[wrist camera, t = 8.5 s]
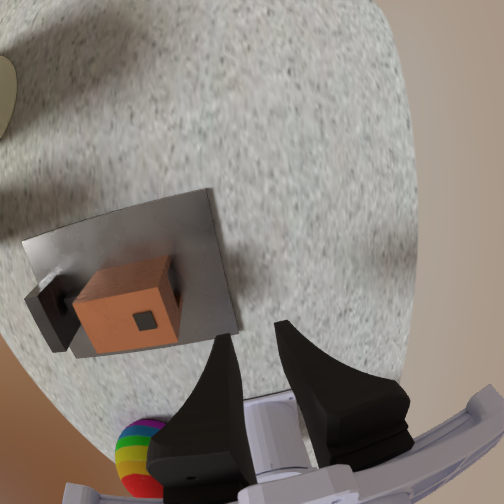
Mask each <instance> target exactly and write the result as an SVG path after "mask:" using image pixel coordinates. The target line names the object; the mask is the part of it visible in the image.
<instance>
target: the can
mask: <svg viewBox="0 0 504 504" xmlns="http://www.w3.org/2000/svg"><path fill="white" fill-rule="evenodd" d="M16 94H17V76H16V72H15V68H14V66H13V64H12V63H11V61H10V60H9V59H7V58H6V57H3V56H0V139H1V137H2V136H3V134H4V132H5V130H6V128H7V126H8V124H9V121H10V119H11V116H12V113H13V110H14V105H15V101H16Z"/></svg>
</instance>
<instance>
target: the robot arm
mask: <svg viewBox="0 0 504 504" xmlns="http://www.w3.org/2000/svg"><path fill="white" fill-rule="evenodd" d="M274 327H275V333H276V339H277V345H278V351H279V356H280V359H281V363H282V366H283V370H284V373H285V375H286V377H287V380H288V382H289V384H290V386H291V389H292V390H289V391H285V392H281V393H277V394H273V395H269V396H264V397H260V398H255V399H250V400H245V401H243V389H242V379H241V374H240V369H239V364H238V360H237V357H236V353H235V350H234V346H233V343H232V339H231V336H230V333H225V334H221V335H217V336H216V337H215V340H214V344H213V347H212V350H211V353H210V356H209V359H208V361H207V364H206V366H205V369H204V371H203V373H202V375H201V377H200V379H199V381H198V383H197V385H196V386H195V388H194V390H193V391H192V393H191V395H190V396H189V397H188V399H187V400H186V402H185V403H184V405H183V406H182V407H181V408H180V410H179V411H178V412H177V413H176V414H175V415H174V416H173V418H172V419H171V420H170V421H169V422H168V423H167V424H166V425H165V426H164V427H163V428H161V429H160V430H159V431H158V432H157V433H156V434H155V435H153V436H152V437H151V438H150V442H149V446H148V450H147V459H146V470H147V472H148V473H149V474H150V475H151V476H152V477H153V478H154V479H155V480H156V481H158V482H159V483H160V484H161V485H162V486H163V499H159V498H134V497H120V496H111V495H103V494H99V493H98V492H97V491H96V490H94V489H93V488H91V487H88V486H84V485H79V484H73V483H66V488H65V492H64V497H63V502H62V504H414V503H416V502H417V501H419V500H421V499H423V498H424V497H426V496H428V495H429V494H431V493H432V492H434V491H436V490H437V489H439V488H440V487H442V486H443V485H445V484H446V483H448V482H449V481H450V480H452V479H453V478H455V477H456V476H457V475H459V474H460V473H462V472H463V471H464V470H466V469H467V468H468V467H470V466H471V465H472V464H474V463H475V462H476V461H477V460H479V459H480V458H481V457H482V456H484V455H485V454H486V453H488V452H489V451H490V450H491V449H492V448H493V447H495V446H496V445H497V443H498V442H499V441H500V440H501V439H502V437H503V436H504V399H503V398H502V396H501V395H500V394H499V393H498V392H497V391H496V390H495V389H494V387H493V386H492V385H491V384H489V385H487V386H486V387H484V388H483V389H482V390H480V391H479V392H477V393H476V394H475V395H474V396H473V397H472V398H471V399H470V400H469V402H468V403H467V406H466V408H465V409H463V410H462V411H460V412H459V413H457V414H456V415H454V416H453V417H451V418H449V419H448V420H446V421H444V422H443V423H441V424H439V425H438V426H436V427H434V428H432V429H431V430H429V431H427V432H425V433H423V434H421V435H420V436H418V437H416V438H414V439H413V438H412V437H411V435H410V434H409V432H408V430H407V429H408V424H407V423H406V421H405V420H404V419H405V417H406V414H407V412H408V409H409V406H410V398H409V397H408V395H407V394H406V392H405V391H404V390H403V388H402V387H401V386H400V385H399V384H398V383H397V382H396V381H395V380H390V379H386V378H381V377H377V376H373V375H370V374H367V373H364V372H361V371H359V370H356V369H354V368H352V367H349V366H347V365H345V364H343V363H341V362H339V361H338V360H336V359H334V358H333V357H331V356H329V355H328V354H326V353H325V352H323V351H322V350H321V349H319V348H318V347H317V346H315V345H314V344H313V343H312V342H310V341H309V340H308V339H307V338H306V337H304V336H303V335H302V334H301V333H300V332H299V331H298V330H297V329H296V328H295V327H294V326H293V325H292V324H291V323H290V321H288V320H284V321H279V322H275V323H274ZM296 400H297V402H298V404H299V407H300V409H301V412H302V414H303V417H304V420H305V424H306V427H307V430H308V433H309V436H310V440H311V443H312V446H313V449H314V453H315V456H316V459H317V463H318V466H319V469H317V468H316V467H313V468H312V465H311V462H310V459H309V456H308V453H307V450H306V447H305V444H304V441H303V438H302V435H301V432H300V428H299V419H298V410H297V402H296Z"/></svg>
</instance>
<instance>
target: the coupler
mask: <svg viewBox="0 0 504 504" xmlns="http://www.w3.org/2000/svg"><path fill="white" fill-rule="evenodd" d="M22 244H23V247H24V249H25V252H26V255H27V258H28V260H29V263H30V266H31V268H32V271H33V273H34V276H35V278H36V280H37V283H38V285H37V286H36V287H35V288H34V289H33V290H32V291H31V292H30V293H29V294H28V295H27V296H26V297H25V299H24V300H25V302H26V304H27V306H28V308H29V310H30V312H31V314H32V316H33V318H34V320H35V322H36V324H37V326H38V328H39V329H40V331H41V333H42V335H43V337H44V338H45V340H46V342H47V344H48V345H49V347H50V349H51V351H52V352H53V353H56V352H66V351H67V349H68V347H70V349H71V350H72V352H73V354H74V355H75V357H76V359H77V358H87V357H97V356H106V355H115V354H123V353H131V352H138V351H145V350H152V349H158V348H165V347H171V346H177V345H183V344H189V343H194V342H200V341H205V340H210V339H215V337H216V336H217V335H221V334H225V333H230V335H235V334H239V330H238V326H237V322H236V318H235V314H234V310H233V306H232V302H231V298H230V294H229V289H228V285H227V281H226V277H225V273H224V268H223V264H222V260H221V256H220V251H219V247H218V242H217V238H216V234H215V229H214V225H213V220H212V216H211V211H210V206H209V202H208V197H207V192H206V188H205V189H200V190H196V191H191V192H187V193H183V194H178V195H174V196H170V197H166V198H162V199H158V200H154V201H150V202H146V203H142V204H139V205H135V206H131V207H128V208H124V209H120V210H117V211H113V212H110V213H106V214H103V215H99V216H96V217H93V218H89V219H86V220H83V221H80V222H76V223H73V224H70V225H67V226H64V227H61V228H58V229H55V230H52V231H49V232H46V233H43V234H40V235H37V236H34V237H32V238H29V239H26V240H24V241H22ZM165 255H169V259H170V266H169V269H168V273H167V275H168V278H169V282H170V285H171V288H172V291H173V294H174V297H176V296H181V298H182V301H183V306H182V314H181V322H180V331H179V340H178V342H177V343H171V344H165V345H158V346H152V347H145V348H138V349H131V350H124V351H116V352H108V353H99V354H97V352H96V350H95V348H94V347H93V345H92V343H91V341H90V339H89V337H88V335H87V333H86V331H85V330H84V328H83V326H82V324H81V322H80V320H79V318H78V315H77V313H76V311H75V309H74V307H73V305H72V304H73V302H74V301H75V299H76V298H77V297H78V295H79V294H80V293H81V291H82V290H83V288H84V287H85V286H86V284H87V283H88V282H89V280H90V279H91V278H92V276H93V275H94V274H95V273H96V271H99V270H103V269H108V268H112V267H116V266H121V265H125V264H129V263H134V262H138V261H143V260H147V259H152V258H156V257H160V256H165Z"/></svg>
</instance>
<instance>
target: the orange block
mask: <svg viewBox="0 0 504 504" xmlns="http://www.w3.org/2000/svg"><path fill="white" fill-rule="evenodd" d="M169 266H170V259H169V255H165V256H160V257H156V258H152V259H147V260H143V261H138V262H134V263H129V264H125V265H121V266H116V267H112V268H108V269H103V270H99V271H96V273H95V274H94V275H93V276H92V278H91V279H90V280H89V282H88V283H87V284H86V286H85V287H84V288H83V290H82V291H81V293H80V294H79V295H78V297H77V298H76V299H75V301H74V302H73V304H72V305H73V307H74V309H75V311H76V313H77V315H78V318H79V320H80V322H81V324H82V326H83V328H84V330H85V331H86V333H87V335H88V337H89V339H90V341H91V343H92V345H93V347H94V348H95V350H96V352H97V354H99V353H108V352H116V351H124V350H131V349H138V348H145V347H152V346H158V345H165V344H171V343H177V342H178V340H179V331H180V322H181V314H182V306H183V301H182V298H181V296H176V297H174V294H173V291H172V288H171V285H170V282H169V278H168V275H167V273H168V269H169Z"/></svg>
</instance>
